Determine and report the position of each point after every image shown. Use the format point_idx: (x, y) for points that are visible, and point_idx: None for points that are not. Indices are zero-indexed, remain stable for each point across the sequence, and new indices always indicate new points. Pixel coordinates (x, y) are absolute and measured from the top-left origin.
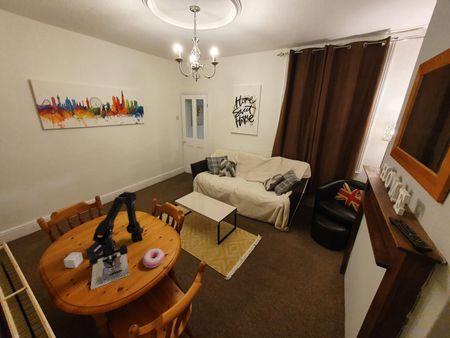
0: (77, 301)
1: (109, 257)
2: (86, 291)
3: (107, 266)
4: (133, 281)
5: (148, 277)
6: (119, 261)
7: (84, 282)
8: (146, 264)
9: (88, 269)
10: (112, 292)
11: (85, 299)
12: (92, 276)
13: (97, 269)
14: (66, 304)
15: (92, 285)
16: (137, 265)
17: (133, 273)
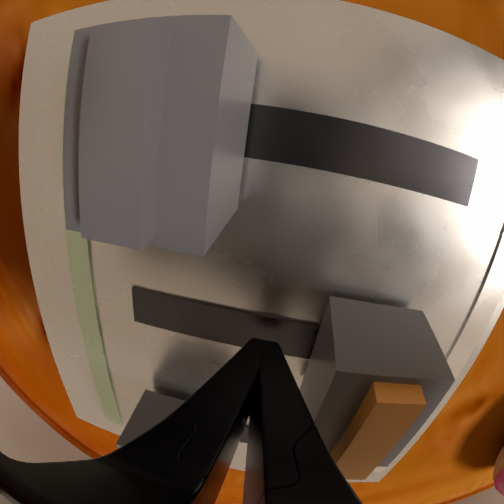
0: (43, 404)
1: (209, 475)
2: (61, 386)
3: (197, 284)
4: (367, 494)
5: (440, 494)
6: (383, 464)
7: (18, 295)
8: (499, 488)
9: (11, 125)
10: (228, 489)
11: (78, 426)
12: (46, 321)
13: (67, 244)
14: (4, 376)
15: (81, 409)
16: (485, 410)
17: (410, 460)
